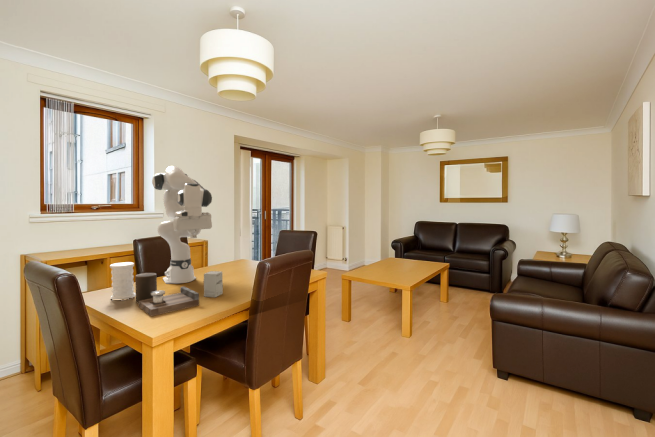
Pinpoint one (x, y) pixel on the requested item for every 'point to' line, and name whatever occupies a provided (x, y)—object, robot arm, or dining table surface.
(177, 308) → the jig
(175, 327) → the dining table surface
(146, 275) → the pillar candle
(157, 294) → the frosted bulb shape
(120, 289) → the decorative container
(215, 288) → the supplement box
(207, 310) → the dining table surface
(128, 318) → the dining table surface
